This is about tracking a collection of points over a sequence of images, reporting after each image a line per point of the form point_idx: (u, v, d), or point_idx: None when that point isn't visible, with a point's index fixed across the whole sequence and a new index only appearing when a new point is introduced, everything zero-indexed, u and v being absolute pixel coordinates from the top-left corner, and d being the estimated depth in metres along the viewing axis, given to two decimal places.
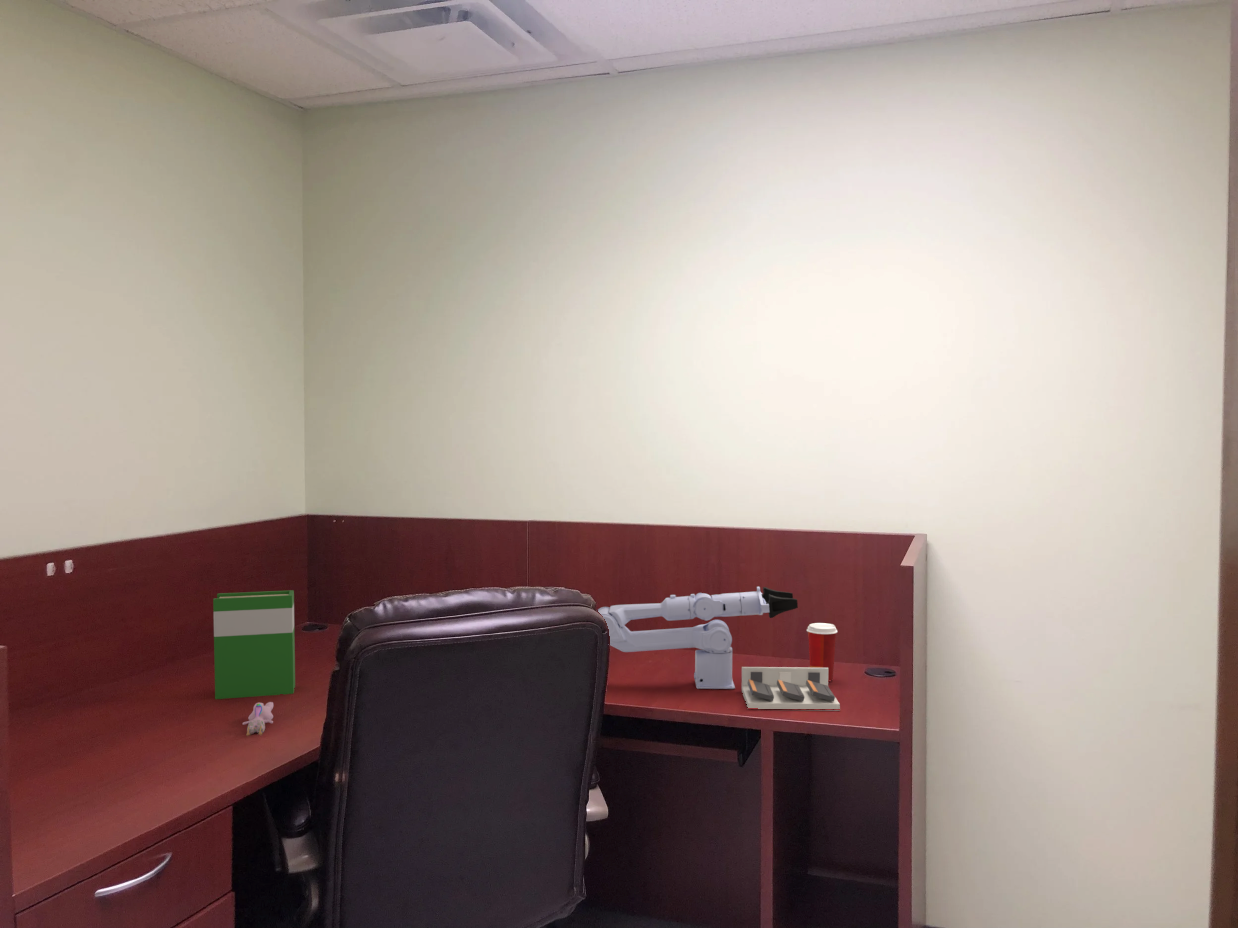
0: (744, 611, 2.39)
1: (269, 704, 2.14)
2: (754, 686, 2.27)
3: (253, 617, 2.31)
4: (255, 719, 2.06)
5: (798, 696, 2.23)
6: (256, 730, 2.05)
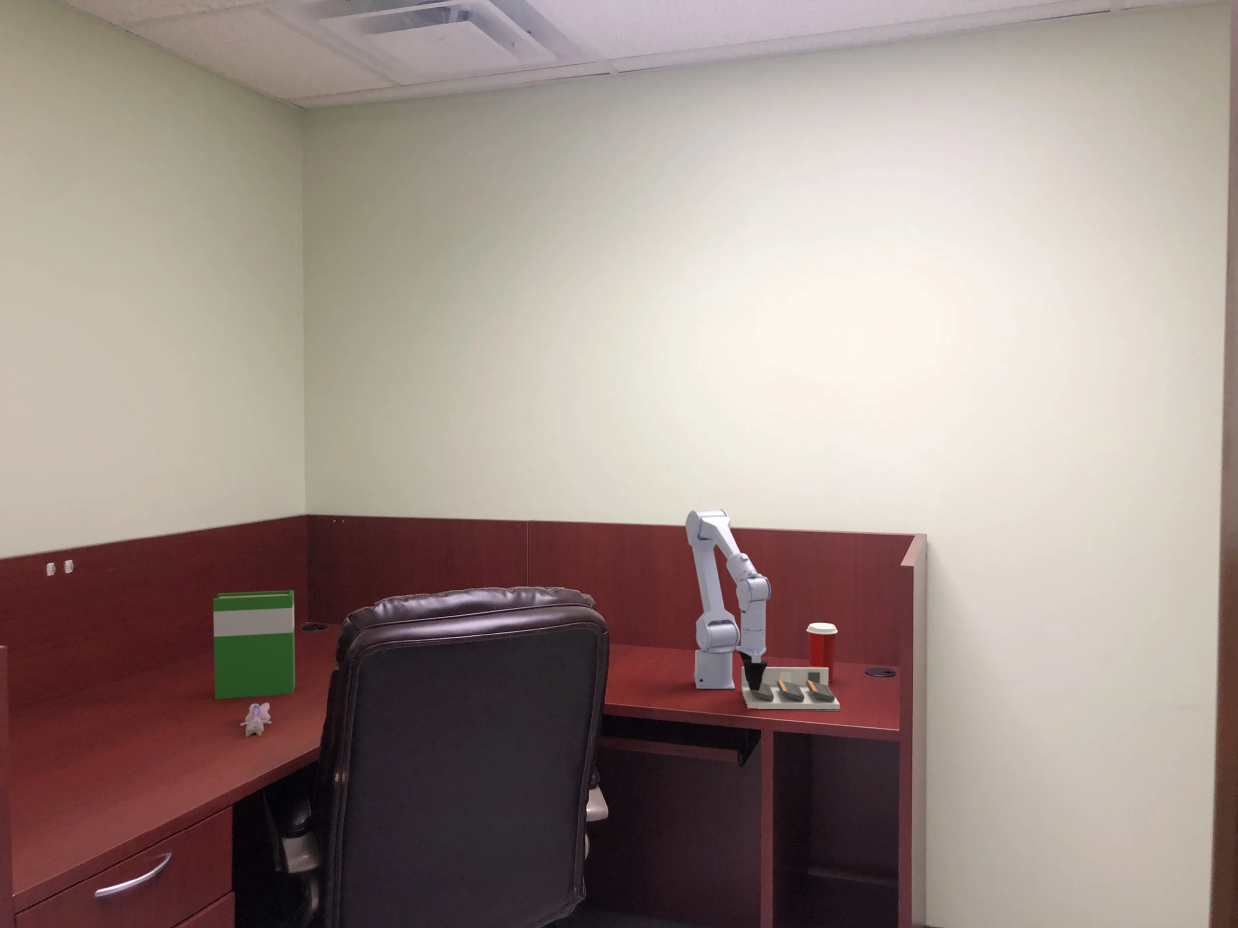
0: None
1: (265, 705, 2.14)
2: None
3: (253, 617, 2.31)
4: (253, 720, 2.05)
5: (798, 696, 2.23)
6: (255, 731, 2.04)
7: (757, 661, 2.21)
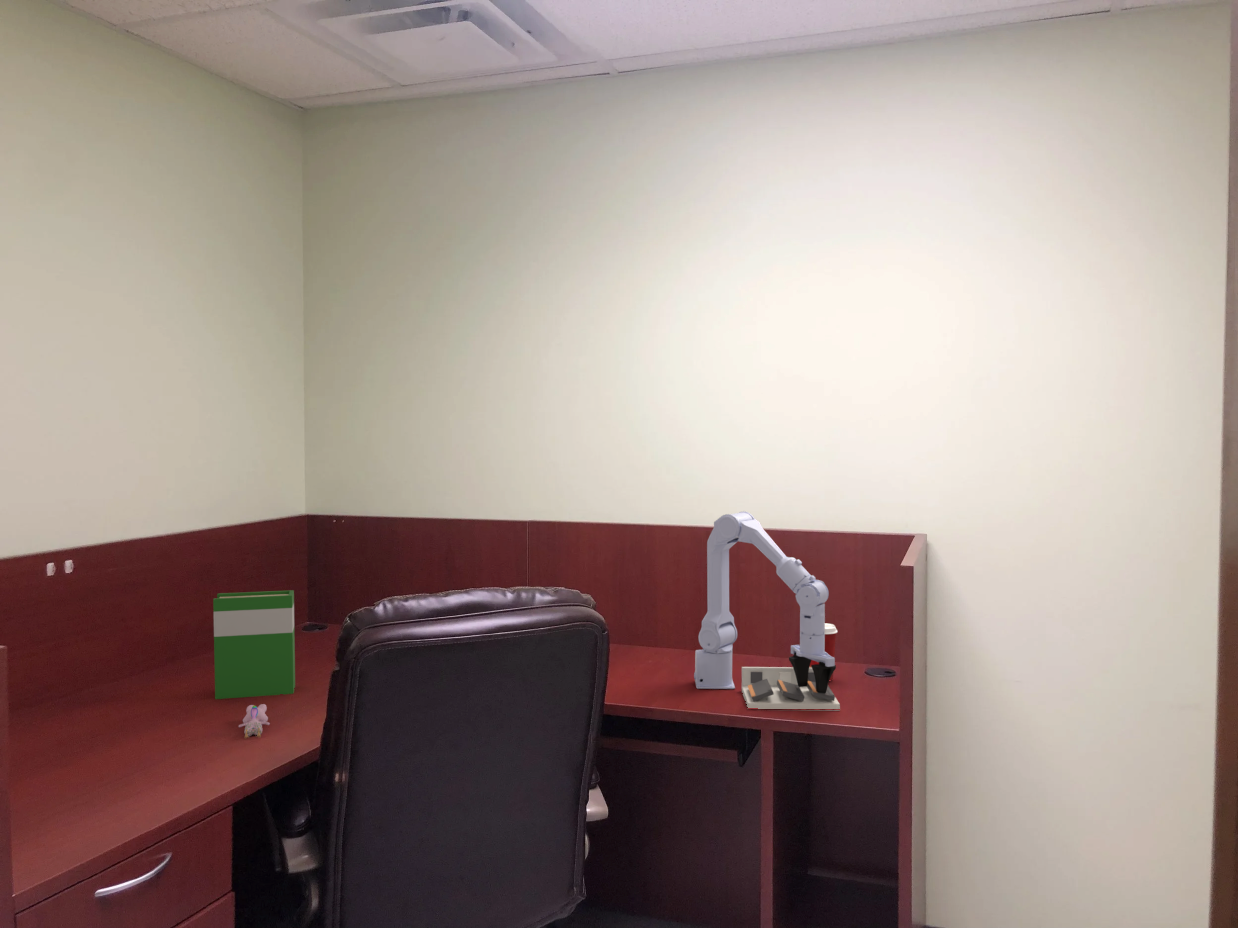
0: None
1: (262, 706, 2.13)
2: (753, 690, 2.27)
3: (253, 617, 2.31)
4: (252, 721, 2.04)
5: (798, 696, 2.23)
6: (254, 732, 2.03)
7: (832, 664, 2.21)
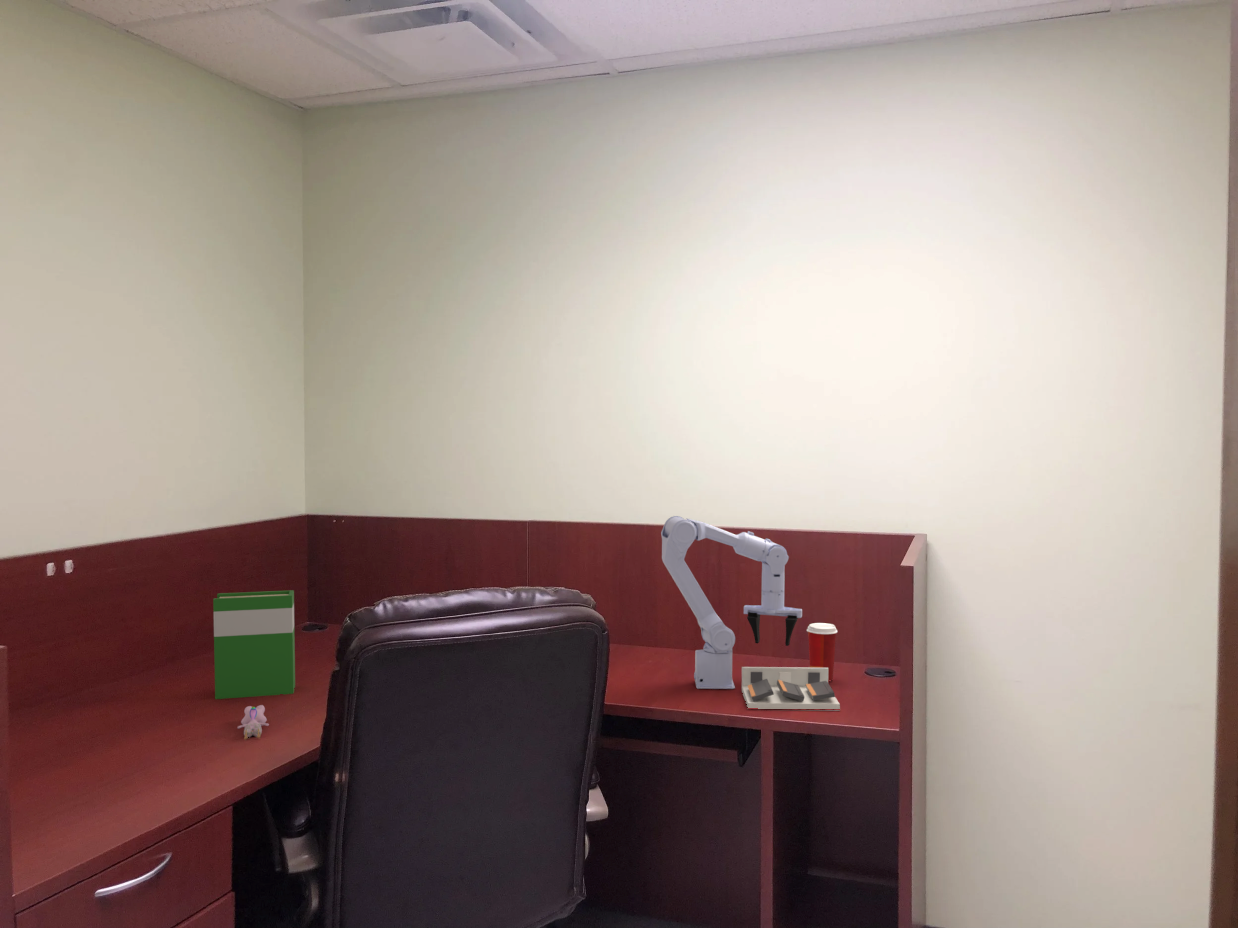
0: None
1: (260, 707, 2.12)
2: (753, 690, 2.27)
3: (253, 617, 2.31)
4: (251, 722, 2.04)
5: (798, 696, 2.23)
6: (253, 733, 2.03)
7: (801, 615, 2.42)
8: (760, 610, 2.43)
